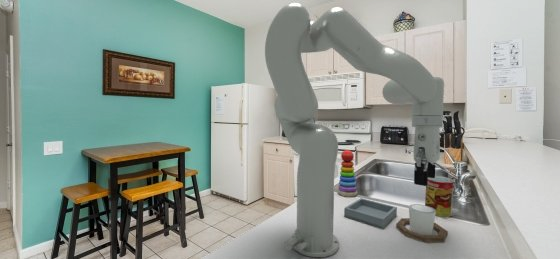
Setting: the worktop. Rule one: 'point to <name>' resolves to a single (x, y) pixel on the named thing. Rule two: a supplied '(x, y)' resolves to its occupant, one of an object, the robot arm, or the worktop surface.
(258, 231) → the worktop surface
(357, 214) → the tray
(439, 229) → the coaster ring
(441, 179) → the canned food
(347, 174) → the stacking toy
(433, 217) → the white cylinder
